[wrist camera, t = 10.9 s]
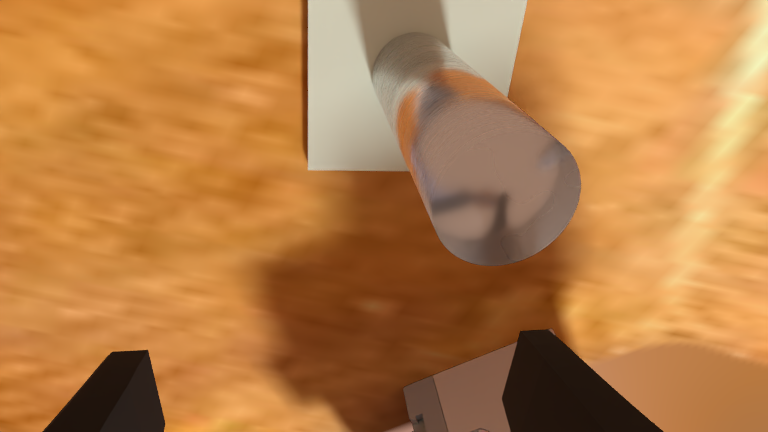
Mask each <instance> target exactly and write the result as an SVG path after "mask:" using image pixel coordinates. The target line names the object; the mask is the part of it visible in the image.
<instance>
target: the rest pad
mask: <svg viewBox="0 0 768 432" xmlns="http://www.w3.org/2000/svg"><path fill="white" fill-rule="evenodd" d="M526 5H527V0H308V170H337V171H409V169H408V166H407V164H406V162H405V160H404V157H403V155H402V153H401V150H400V148H399V146H398V143H397V141H396V139H395V137H394V134H393V132H392V130H391V127H390V125H389V123H388V121H387V118H386V116H385V114H384V111H383V109H382V107H381V104H380V102H379V100H378V98H377V95H376V93H375V90H374V87H373V82H372V72H373V66H374V63H375V60H376V58H377V56H378V54H379V53H380V51H381V50H382V48H383V47H384V46H385V45H386V44H387V43H388V42H389V41H391V40H392V39H394V38H396V37H398V36H400V35H402V34H406V33H411V32H420V33H425V34H429V35H431V36H433V37H435V38H437V39H438V40H439V41H441V42H442V43H443V44H444V45H445V46H447V47H448V48H449V49H450V50H451V51H452V52H454V53H455V54H456V55H457V56H458V57H460V58H461V59H462V60H463V61H464V62H466V63H467V64H468V65H469V66H470V67H471V68H473V69H474V70H475V71H476V72H477V73H479V74H480V75H481V76H482V77H483V78H484V79H486V80H487V81H488V82H489V83H490V84H492V85H493V86H494V87H495V88H496V89H497V90H499V91H500V92H501V93H502V94H503V95H505V96H506V97H508V92H509V87H510V82H511V77H512V72H513V68H514V63H515V58H516V53H517V48H518V43H519V39H520V34H521V29H522V24H523V19H524V14H525V10H526Z"/></svg>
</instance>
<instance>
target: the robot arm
mask: <svg viewBox="0 0 768 432" xmlns="http://www.w3.org/2000/svg"><path fill="white" fill-rule="evenodd" d="M502 402H503V406H504V409H505V413H506V417H507V420H508V424H509V427H510V431H511V432H663V431H662V430H661V429H660V428H659V427H657V426H656V425H655V424H654V423H653V422H651V421H650V420H649V419H648V418H647V417H645V416H644V415H643V414H642V413H641V412H640V411H639V410H637V409H636V408H635V407H634V406H632V404H630V403H629V402H628V401H627V400H626V399H625V398H624V397H623V396H621V395H620V394H619V393H618V392H617V391H616V390H615V389H614V388H612V387H611V386H610V385H609V384H608V383H607V382H606V381H605V380H603V379H602V378H601V377H600V376H599V375H598V374H597V373H596V372H595V371H594V370H593V369H591V368H590V367H589V366H588V365H587V364H586V363H585V362H584V361H583V360H582V359H581V358H579V357H578V356H577V355H576V354H575V353H574V352H573V351H572V350H571V349H570V348H569V347H567V346H566V345H565V344H564V343H563V342H562V341H561V340H560V339H559V338H557V337H556V336H555V335H554V334H553V333H552V332H551V331H549V330H529V331H520V334H519V338H518V341H517V345H516V349H515V352H514V356H513V359H512V363H511V366H510V370H509V374H508V377H507V381H506V384H505V388H504V391H503V395H502ZM164 427H165V420H164V416H163V412H162V407H161V403H160V399H159V395H158V391H157V386H156V382H155V378H154V374H153V369H152V365H151V361H150V357H149V352H148V350H140V351H120V352H112V353H111V354H110V355H108V356H107V357H106V359H105V360H104V361H103V362H102V363H101V364H100V366H99V367H98V368H97V369H96V370H95V371H94V373H93V374H92V375H91V376H90V377H89V379H88V380H87V381H86V382H85V383H84V385H83V386H82V387H81V388H80V389H79V390H78V392H77V393H76V394H75V395H74V396H73V397H72V399H71V400H70V401H69V402H68V403H67V404H66V406H65V407H64V408H63V409H62V410H61V411H60V412H59V414H58V415H57V416H56V417H55V418H54V419H53V421H52V422H51V423H50V424H49V425H48V426H47V427H46V428H45V429H44V431H43V432H164Z"/></svg>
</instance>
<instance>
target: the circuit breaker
mask: <svg viewBox="0 0 768 432" xmlns="http://www.w3.org/2000/svg"><path fill="white" fill-rule="evenodd" d="M548 330H549V331H551V332H552V333H553V334H554V335H555V333H554V331H553V329H552V328H551V329H548ZM555 336H556V335H555ZM516 345H517V342H516V343H513V344H510V345H508V346H505V347H503V348H500V349H498V350H495V351H493V352H490V353H488V354H485V355H483V356H480V357H478V358H475V359H473V360H470V361H468V362H465V363H463V364H460V365H458V366H455V367H453V368H450V369H448V370H445V371H443V372H440V373H437V374H435V375H433V376H430V377H427V378H425V379H423V380H420V381H418V382H415V383H413V384H410V385H408V386H405V387H404V389H403V391H404V396H405V401H406V405H407V410H408V415H409V419H410V421H411V423H412V424H413V429H414V432H511V431H510V427H509V424H508V420H507V417H506V413H505V409H504V406H503V402H502V395H503V391H504V388H505V384H506V381H507V377H508V374H509V370H510V366H511V363H512V359H513V356H514V352H515V349H516Z"/></svg>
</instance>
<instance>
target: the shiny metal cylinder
mask: <svg viewBox="0 0 768 432" xmlns="http://www.w3.org/2000/svg"><path fill="white" fill-rule="evenodd" d="M372 82H373V87H374V90H375V93H376V95H377V98H378V100H379V102H380V104H381V107H382V109H383V111H384V114H385V116H386V118H387V121H388V123H389V125H390V127H391V130H392V132H393V134H394V137H395V139H396V141H397V143H398V146H399V148H400V150H401V153H402V155H403V157H404V160H405V162H406V164H407V166H408V169H409V171H410V173H411V176H412V178H413V180H414V182H415V185H416V187H417V189H418V192H419V194H420V196H421V199H422V201H423V203H424V205H425V208H426V210H427V212H428V215H429V217H430V219H431V221H432V224H433V226H434V228H435V231H436V233H437V235H438V237H439V239H440V240H441V242H442V243H443V245H444V246H445V247H446V248H447V249H448V250H449V251H450V252H451V253H452V254H454V255H455V256H457V257H458V258H460V259H462V260H464V261H467V262H470V263H473V264H477V265H484V266H499V265H506V264H511V263H515V262H518V261H521V260H524V259H526V258H528V257H530V256H532V255H534V254H536V253H538V252H540V251H541V250H542V249H544V248H545V247H547V246H548V245H549V244H550V243H552V242H553V241H554V240H555V239H556V238H557V237H558V236H559V235H560V234H561V233H562V231H563V230H564V229H565V228H566V226H567V225H568V223H569V222H570V220H571V218H572V217H573V214H574V212H575V210H576V208H577V205H578V201H579V197H580V191H581V179H580V173H579V169H578V166H577V163H576V161H575V159H574V157H573V156H572V154H571V153H570V152H569V151H568V150H567V148H566V147H565V146H564V145H562V144H561V143H560V142H559V141H558V140H557V139H555V138H554V137H553V136H552V135H551V134H549V133H548V132H547V131H546V130H545V129H544V128H542V127H541V126H540V125H539V124H538V123H536V122H535V121H534V120H533V119H532V118H531V117H529V116H528V115H527V114H526V113H525V112H523V111H522V110H521V109H520V108H519V107H518V106H516V105H515V104H514V103H513V102H512V101H510V100H509V99H508V98H507V97H506V96H505V95H503V94H502V93H501V92H500V91H499V90H497V89H496V88H495V87H494V86H493V85H492V84H490V83H489V82H488V81H487V80H486V79H484V78H483V77H482V76H481V75H480V74H479V73H477V72H476V71H475V70H474V69H473V68H471V67H470V66H469V65H468V64H467V63H466V62H464V61H463V60H462V59H461V58H460V57H458V56H457V55H456V54H455V53H454V52H452V51H451V50H450V49H449V48H448V47H447V46H445V45H444V44H443V43H442V42H441V41H439V40H438V39H437V38H435V37H433V36H431V35H429V34H425V33H420V32H411V33H406V34H402V35H400V36H398V37H396V38H394V39H392V40H391V41H389V42H388V43H387V44H386V45H385V46H384V47H383V48H382V50H381V51H380V53H379V54H378V56H377V58H376V60H375V63H374V66H373V72H372Z"/></svg>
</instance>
